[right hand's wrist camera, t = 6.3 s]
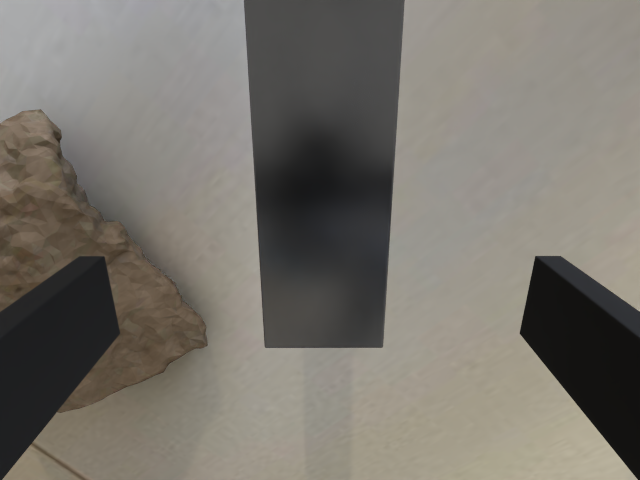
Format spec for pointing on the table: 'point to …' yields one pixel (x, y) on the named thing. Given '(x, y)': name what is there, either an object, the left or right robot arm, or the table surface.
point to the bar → (324, 165)
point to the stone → (84, 240)
